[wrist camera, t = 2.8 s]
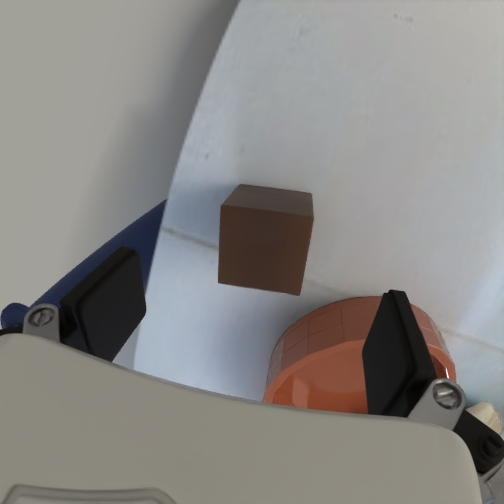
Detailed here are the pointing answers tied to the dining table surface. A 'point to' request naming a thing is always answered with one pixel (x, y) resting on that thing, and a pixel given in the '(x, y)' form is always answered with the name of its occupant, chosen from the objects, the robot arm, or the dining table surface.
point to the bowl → (337, 357)
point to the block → (265, 238)
